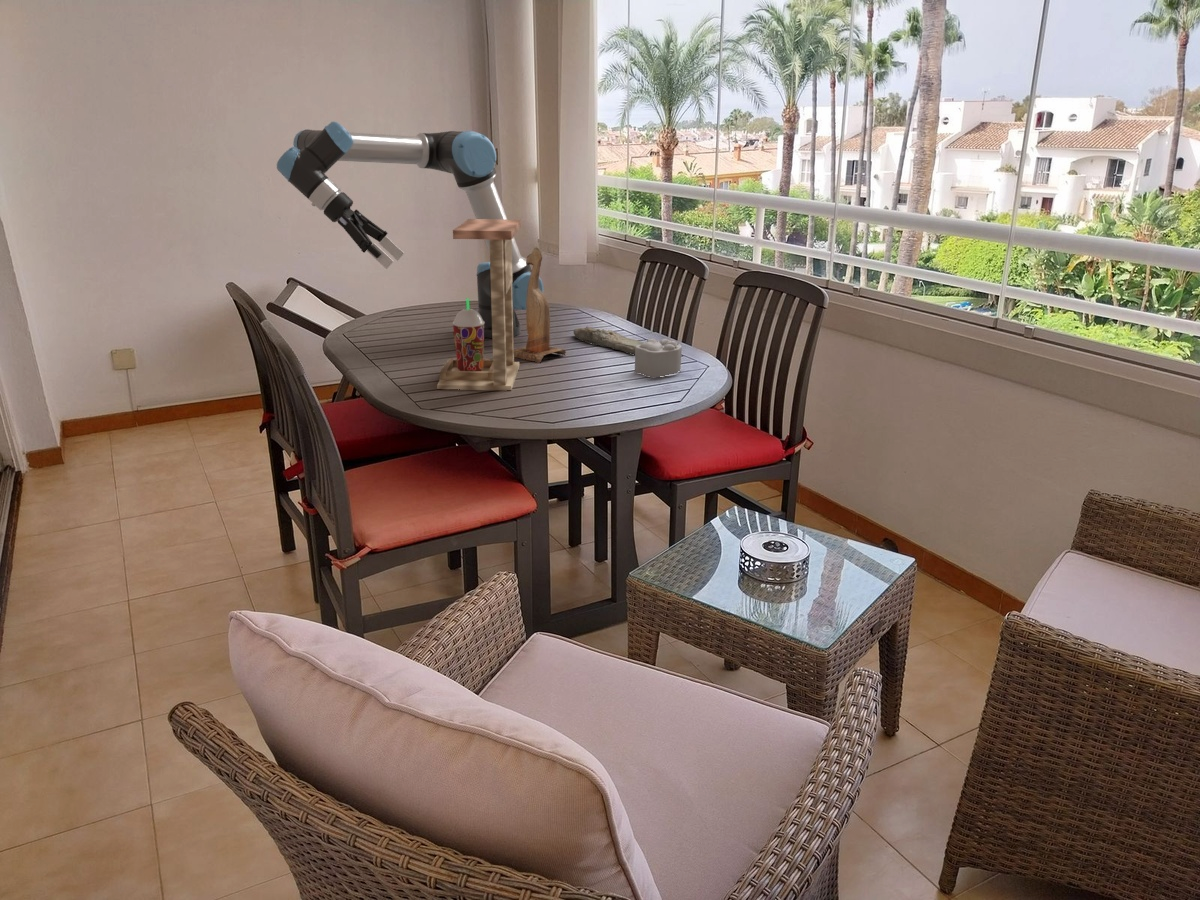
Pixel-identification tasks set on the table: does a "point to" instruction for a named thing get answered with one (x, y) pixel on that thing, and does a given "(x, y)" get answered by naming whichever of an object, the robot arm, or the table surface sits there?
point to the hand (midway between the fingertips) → (395, 261)
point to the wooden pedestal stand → (502, 366)
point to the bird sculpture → (536, 316)
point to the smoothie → (469, 339)
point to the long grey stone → (607, 339)
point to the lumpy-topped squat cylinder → (658, 358)
